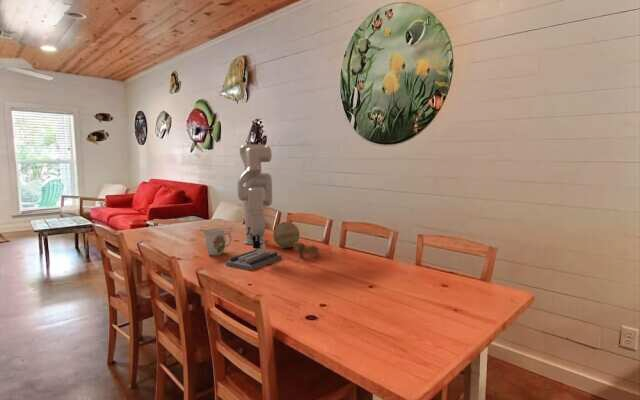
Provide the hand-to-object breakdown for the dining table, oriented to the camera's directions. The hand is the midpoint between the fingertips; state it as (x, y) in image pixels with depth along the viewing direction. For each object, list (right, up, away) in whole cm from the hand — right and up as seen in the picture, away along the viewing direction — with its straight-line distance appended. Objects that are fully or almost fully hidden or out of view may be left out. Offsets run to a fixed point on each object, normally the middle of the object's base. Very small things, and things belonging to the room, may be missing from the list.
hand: (256, 248), depth 194 cm
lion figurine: (+25, -6, +6) cm, 27 cm away
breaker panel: (-1, -7, -1) cm, 7 cm away
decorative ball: (+13, -3, +28) cm, 31 cm away
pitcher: (-24, -5, +15) cm, 29 cm away
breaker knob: (+2, -4, +4) cm, 6 cm away
